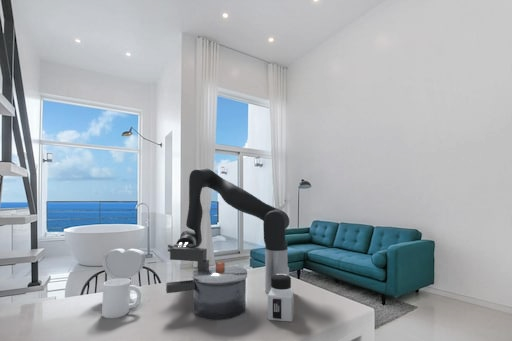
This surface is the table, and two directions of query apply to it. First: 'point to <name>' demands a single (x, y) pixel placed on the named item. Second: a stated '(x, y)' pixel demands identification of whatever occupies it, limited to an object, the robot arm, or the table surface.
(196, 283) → the cooker pot
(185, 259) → the cooker lid
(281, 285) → the container
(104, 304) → the mug
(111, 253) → the heart sculpture
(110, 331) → the table surface
